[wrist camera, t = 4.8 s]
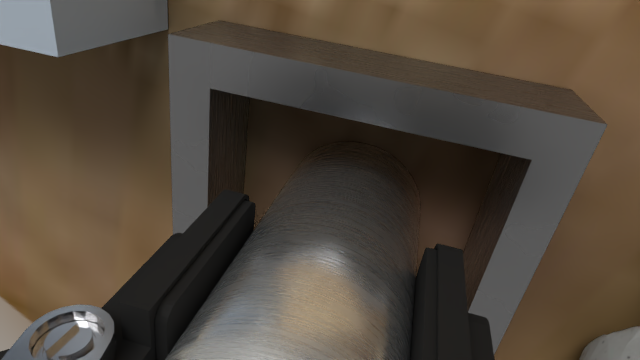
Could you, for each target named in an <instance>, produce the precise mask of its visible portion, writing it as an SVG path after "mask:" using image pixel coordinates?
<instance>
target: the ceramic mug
mask: <svg viewBox="0 0 640 360" xmlns="http://www.w3.org/2000/svg"><path fill="white" fill-rule="evenodd" d="M579 360H640V326H635V327H631V328H628V329H624V330H622V331H617V332H613V333H611V334H608V335H602V336H600V337H598V338H596V339H595V340H593V341H592V342H590V343H589V344H588V345H587V346H586V347H585V348H584V350H583V352H582V354H581V356H580V358H579Z"/></svg>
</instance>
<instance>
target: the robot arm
mask: <svg viewBox="0 0 640 360" xmlns="http://www.w3.org/2000/svg"><path fill="white" fill-rule="evenodd" d="M254 217H255V203H253V202H250V201H249V196H248V195H246V194H242V193H239V192H235V191H231V190H227V189H226V190H223V191H222V192H221V193H220V194H219V195H218V197H217V198H216V199H215V200H214V201H213V202H212V203H211V204H210V205H209V206H208V207H207V208H206V209H205V210H204V211H203V213H202V214H201V215H200V216H199V217H198V218H197V219H196V220H195V221H194V222H193V223H192V224H191V225H190V226H189V227H188V229H187V230H186V231H185V232H184V233H183V234H182V233H175V234H174V235H172V236H171V237H170V238H169V239H168V240H167V241H166V242H165V243H164V244H163V245H162V246H161V247H160V248H159V249H158V250H157V251H156V252H155V253H154V255H153V256H152V257H151V258H150V259H149V260H148V261H147V262H146V263H145V264H144V265H143V266H142V267H141V268H140V269H139V270H138V271H137V272H136V273H135V274H134V275H133V276H132V277H131V278H130V279H129V280H128V281H127V282H126V283H125V284H124V285H123V286H122V288H121V289H120V290H119V291H118V292H117V293H116V294H115V295H114V296H113V297H112V298H111V299H110V300H109V301H108V302H107V303H106V304H105V305H104V306H103V307H102V308H99V307H95V306H91V305H73V306H67V307H62V308H59V309H57V310H54V311H51V312H49V313H47V314H45V315H44V316H42V317H40V318H39V319H37V320H36V321H35V322H34V323H32V324H31V325H30V326H29V327H28V328H27V329H26V330H25V332H23V334H22V335H21V336H20V337H19V339H18V340H17V341H16V342H15V343H14V345H13V346H12V347H11V348H10V349H8V350H5V351H1V352H0V360H165V359H166V357H167V356H168V354H169V353H170V352H171V350H172V349H173V347H174V346H175V344H176V343H177V341H178V340H179V338H180V337H181V336H182V334H183V333H184V331H185V330H186V328H187V327H188V325H189V324H190V322H191V321H192V320H193V318H194V317H195V315H196V314H197V312H198V311H199V309H200V308H201V306H202V305H203V304H204V302H205V301H206V299H207V298H208V296H209V295H210V293H211V292H212V290H213V289H214V288H215V286H216V285H217V283H218V282H219V280H220V279H221V277H222V276H223V274H224V273H225V272H226V270H227V269H228V267H229V266H230V264H231V263H232V261H233V260H234V258H235V257H236V255H237V254H238V253H239V251H240V250H241V248H242V247H243V245H244V244H245V242H246V241H247V239H248V238H249V237H250V235H251V234H252V232H253V229H254ZM410 360H494V352H493V345H492V338H491V331H490V325H489V321H488V319H487V318H486V317H482V316H479V315H475V314H472V313H468V309H467V297H466V285H465V273H464V261H463V251H462V250H461V249H457V248H453V247H449V246H445V245H441V244H436V246H435V248H434V249H431V248H426V249H425V251H424V254H423V257H422V260H421V264H420V267H419V270H418V273H417V276H416V279H415V293H414V307H413V321H412V335H411V349H410Z"/></svg>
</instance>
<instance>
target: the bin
mask: <svg viewBox="0 0 640 360" xmlns="http://www.w3.org/2000/svg"><path fill="white" fill-rule="evenodd" d="M167 29H168V7H167V0H0V44H1V45H6V46H10V47H15V48H19V49H24V50H28V51H33V52H37V53H42V54H46V55H51V56H55V57H61V56H65V55H69V54H73V53H77V52H81V51H85V50H89V49H93V48H96V47H100V46H104V45H108V44H112V43H116V42H120V41H124V40H128V39H132V38H136V37H140V36H144V35H148V34H152V33H156V32H159V31H163V30H167Z"/></svg>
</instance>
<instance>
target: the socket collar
mask: <svg viewBox="0 0 640 360" xmlns="http://www.w3.org/2000/svg"><path fill="white" fill-rule="evenodd" d="M168 49H169V89H170V129H171V168H172V208H173V235H174V234H175V233H182V234H183V233H184V232H185V231H186V230H187V229H188V227H189V226H190V225H191V224H192V223H193V222H194V221H195V220H196V219H197V218H198V217H199V216H200V215H201V214H202V213H203V211H204V210H205V209H206V208H207V207H208V206H209V205H210V204H211V203H212V202H213V201H214V200H215V199H216V198H217V197H218V195H219V194H220V193H221V192H222V191H223V190H226V189H227V190H231V191H235V192H239V193H242V194H243V187H244V172H245V157H246V142H247V127H248V112H249V97H251V98H255V99H260V100H264V101H269V102H273V103H278V104H282V105H287V106H291V107H296V108H300V109H305V110H309V111H314V112H318V113H323V114H327V115H332V116H336V117H341V118H345V119H350V120H354V121H359V122H363V123H368V124H372V125H377V126H381V127H386V128H390V129H395V130H399V131H404V132H408V133H413V134H417V135H422V136H426V137H431V138H435V139H440V140H444V141H449V142H453V143H458V144H462V145H467V146H472V147H476V148H481V149H485V150H490V151H494V152H499V153H501V154H500V157H499V160H498V162H497V165H496V168H495V170H494V173H493V176H492V178H491V181H490V183H489V186H488V189H487V191H486V194H485V197H484V199H483V202H482V205H481V207H480V210H479V212H478V215H477V218H476V220H475V223H474V226H473V228H472V231H471V233H470V236H469V239H468V241H467V244H466V247H465V249H464V252H463V261H464V273H465V285H466V297H467V309H468V313H472V314H475V315H479V316H482V317H486V318H487V319H488V321H489V325H490V331H491V338H492V345H493V352H494V354H495V352H496V350H497V348H498V346H499V344H500V342H501V340H502V337H503V335H504V333H505V331H506V329H507V327H508V325H509V323H510V321H511V319H512V317H513V315H514V313H515V311H516V309H517V307H518V305H519V303H520V301H521V299H522V297H523V295H524V293H525V291H526V289H527V287H528V285H529V283H530V281H531V279H532V277H533V275H534V273H535V271H536V269H537V267H538V264H539V262H540V260H541V258H542V256H543V254H544V252H545V250H546V248H547V246H548V244H549V242H550V240H551V238H552V236H553V234H554V232H555V230H556V228H557V226H558V224H559V222H560V220H561V218H562V216H563V214H564V212H565V210H566V208H567V206H568V204H569V202H570V200H571V198H572V196H573V194H574V191H575V189H576V187H577V185H578V183H579V181H580V179H581V177H582V175H583V173H584V171H585V169H586V167H587V165H588V163H589V161H590V159H591V157H592V155H593V153H594V151H595V149H596V147H597V145H598V143H599V141H600V139H601V137H602V135H603V133H604V131H605V129H606V127H607V124H606V123H605V122H604V121H603V120H602V119H601V118H600V117H599V116H598V115H597V114H596V113H595V112H594V111H593V110H592V109H591V108H590V107H589V106H588V105H587V104H586V103H585V102H584V101H583V100H582V99H581V98H580V97H579V96H578V95H576V94H575V93H574V92H573V91H572V90H570V89H564V88H559V87H554V86H549V85H544V84H539V83H534V82H529V81H524V80H519V79H514V78H509V77H504V76H499V75H493V74H488V73H483V72H478V71H473V70H468V69H463V68H458V67H453V66H448V65H443V64H438V63H433V62H427V61H422V60H417V59H412V58H407V57H402V56H397V55H392V54H387V53H382V52H377V51H372V50H367V49H362V48H356V47H351V46H346V45H341V44H336V43H331V42H326V41H321V40H316V39H311V38H306V37H301V36H296V35H290V34H285V33H280V32H275V31H270V30H265V29H260V28H255V27H250V26H245V25H240V24H235V23H230V22H225V21H219V20H218V21H215V22H211V23H207V24H204V25H200V26H196V27H193V28H189V29H185V30H182V31H178V32H174V33H171V34H168Z"/></svg>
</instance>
